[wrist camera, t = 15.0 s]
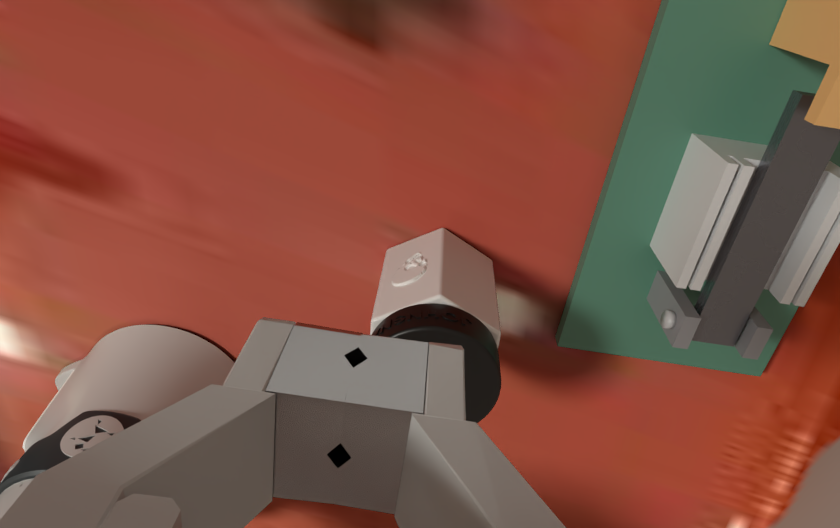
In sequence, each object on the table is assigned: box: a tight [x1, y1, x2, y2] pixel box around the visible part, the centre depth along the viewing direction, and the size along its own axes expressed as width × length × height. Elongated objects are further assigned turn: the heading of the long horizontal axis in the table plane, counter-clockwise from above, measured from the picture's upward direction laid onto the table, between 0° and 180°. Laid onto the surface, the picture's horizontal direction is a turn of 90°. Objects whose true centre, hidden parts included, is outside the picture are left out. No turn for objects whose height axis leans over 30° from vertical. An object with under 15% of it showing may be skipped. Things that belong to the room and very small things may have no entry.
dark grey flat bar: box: [692, 90, 840, 347], centre depth 35 cm, size 16×3×1 cm, turn 172°
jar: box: [370, 228, 501, 423], centre depth 39 cm, size 9×8×12 cm
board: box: [555, 0, 840, 376], centre depth 37 cm, size 27×16×7 cm, turn 172°
